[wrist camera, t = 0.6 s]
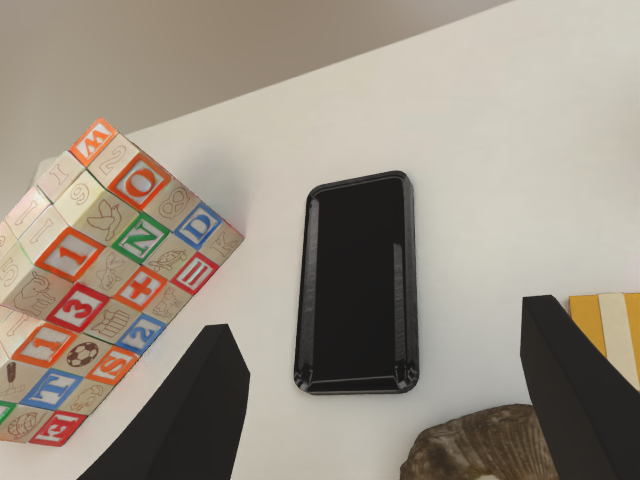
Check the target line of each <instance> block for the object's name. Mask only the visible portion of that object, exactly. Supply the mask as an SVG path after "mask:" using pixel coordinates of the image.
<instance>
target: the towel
mask: <svg viewBox="0 0 640 480" xmlns="http://www.w3.org/2000/svg"><path fill="white" fill-rule="evenodd" d="M569 304H570V312H571V319H572V320H573V321H574V322H575V323H576V325H577V326H578V327H579V328H580V329H581V331H582V332H583V333H584V334H585V335H586V336H587V338H588V339H589V340H590V341H591V342H592V343H593V344H594V346H595V347H596V348H597V349H598V350H599V351H600V352H601V353H602V354H603V355H604V356H605V358H606V359H607V360H608V361H609V362H610V363H611V364H612V365H613V366H614V367H615V368H616V369H617V370H618V371H619V372H620V373H621V375H622V376H623V377H624V378H625V379H626V380H627V381H628V382H629V383H630V384H631V385H632V386H633V387H634V388H635V389H636V390H637V391H638V392H640V293H630V294H624V293H609V294H598V295H586V296H570V297H569Z"/></svg>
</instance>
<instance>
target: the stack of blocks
mask: <svg viewBox="0 0 640 480" xmlns="http://www.w3.org/2000/svg"><path fill="white" fill-rule="evenodd" d="M36 184H37V185H35V186H33V187H32V188H31V189H30V190H29V191H28V192H27V194H26V195H25V196H24V197H23V198H22V199H21V200H20V201H19V202H18V204H17V205H16V206H15V207H14V208H13V209H12V210H11V212H10V213H9V214H8V215H7V216H6V218H5V221H2V222H1V223H0V440H2V441H10V442H18V443H27V442H28V443H33V444H40V445H47V446H56V447H61V446H62V445H63V444H64V443H65V441H66V440H67V439H68V438H69V437H70V435H71V434H72V433H73V432H74V431H75V430H76V428H77V427H78V426H79V425H80V424H81V423H82V421H83V420H84V419H85V418H86V416H87V415H90V414H91V413H92V412H93V410H94V409H95V408H96V407H97V406H98V405H99V404H100V402H101V401H102V400H103V399H104V398H105V397H106V396H107V394H108V393H109V392H110V391H111V390H112V388H113V387H114V385H115V384H117V383H118V382H119V381H120V380H121V378H122V377H123V376H124V375H125V374H126V373H127V372H128V370H129V369H130V368H131V367H132V366H133V365H134V364H135V362H136V361H137V360H138V359H139V358H140V356H141V354H142V353H143V352H144V351H145V350H146V349H147V348H148V347H149V346H150V344H151V343H152V342H153V341H154V340H155V339H156V337H157V336H158V335H159V334H160V333H161V332H162V331H163V330H164V328H165V327H166V326H167V324H168V323H169V322H170V321H171V320H172V319H173V318H174V317H175V316H176V314H177V313H178V312H179V311H180V310H181V309H182V308H183V306H184V305H185V304H186V303H187V302H188V301H189V300H190V299H191V297H192V296H193V295H195V294H196V293H197V292H198V290H199V289H200V288H201V287H202V286H203V285H204V284H205V283H206V282H207V280H208V279H209V278H210V277H211V276H212V275H213V274H214V273H215V271H216V270H217V269H218V268H219V266H220V265H221V264H223V263H224V262H225V260H226V259H227V258H228V257H229V256H230V255H231V254H232V252H233V251H234V250H235V249H236V248H237V247H238V246H239V244H240V243H241V242H242V241H243V239H244V237H243V236H242V235H241V234H240V233H239V232H238V231H236V230H235V229H234V228H233V227H232V226H231V225H230V224H228V223H227V222H226V221H225V220H224V219H222V218H221V217H220V216H219V215H218V214H217V213H215V212H214V211H213V210H212V209H211V208H209V207H208V206H207V205H206V204H205V203H204V202H203V201H201V200H200V199H199V198H198V197H197V196H196V195H195V194H194V193H193V192H191V191H190V190H189V189H188V188H187V187H185V186H184V185H183V184H182V183H181V182H179V181H178V180H177V179H176V178H175V177H174V176H172V175H171V174H170V173H169V172H168V171H167V170H166V169H164V168H163V167H162V166H161V165H160V164H159V163H157V162H156V161H155V160H154V159H153V158H151V157H150V156H149V155H148V154H146V153H145V152H144V151H143V150H141V149H140V148H139V147H138V146H137V145H135V144H134V143H133V142H131V141H130V140H128V139H127V138H126V137H125V136H124V135H122V134H121V133H120V132H119V131H118V130H116V129H115V128H114V127H113V126H111V125H110V124H109V123H108V122H107V121H105V120H104V119H103V118H101V117H99V118H98V119H97V120H96V121H95V122H94V123H93V124H92V125H91V127H89V129H88V130H87V131H86V132H85V133H84V134H83V135H82V136H81V137H80V138H79V139H78V140H77V141H76V143H75V144H74V145H73V146H72V147H71V148H70V150H69V151H68V150H65V151H64V152H63V153H62V154H61V155H60V156H59V157H58V158H57V159H56V160H55V161H54V162H53V164H52V165H51V166H50V167H49V168H48V169H47V170H46V171H45V172H44V173H43V174H42V176H41V177H40V178H39V179H38V180H37V181H36Z"/></svg>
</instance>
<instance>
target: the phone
mask: <svg viewBox="0 0 640 480" xmlns="http://www.w3.org/2000/svg"><path fill="white" fill-rule="evenodd" d="M418 379H419V349H418V318H417V288H416V258H415V228H414V197H413V186H412V184H411V182H410V180H409V178H408V177H407V175H406V174H405V173H403V172H402V171H389V172H384V173H379V174H374V175H369V176H364V177H358V178H353V179H348V180H343V181H338V182H333V183H328V184H323V185H319V186H317V187H315V188H314V189H313V190H312V191H311V192H310V193H309V195H308V197H307V203H306V216H305V229H304V242H303V256H302V269H301V282H300V295H299V309H298V322H297V335H296V348H295V362H294V381H295V383H296V385H297V386H298V388H299V389H301V390H303V391H304V392H307V393H309V394H312V395H350V394H400V393H406V392H408V391H410V390H411V389H412V388H413V387H414V386H415V385H416V383H417V381H418Z"/></svg>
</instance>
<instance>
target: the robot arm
mask: <svg viewBox="0 0 640 480" xmlns="http://www.w3.org/2000/svg"><path fill="white" fill-rule="evenodd" d="M520 357H521V362H522V366H523V370H524V375H525V379H526V383H527V387H528V391H529V396H530V399H531V402H532V404H533V407H534V410H535V413H536V416H537V419H538V421H539V424H540V427H541V430H542V433H543V435H544V438H545V441H546V444H547V446H548V449H549V452H550V455H551V458H552V460H553V463H554V466H555V469H556V471H557V474H558V477H559V480H640V392H638V391H637V390H636V389H635V388H634V387H633V386H632V385H631V384H630V383H629V382H628V381H627V380H626V379H625V378H624V377H623V376H622V375H621V373H620V372H619V371H618V370H617V369H616V368H615V367H614V366H613V365H612V364H611V363H610V362H609V361H608V360H607V359H606V358H605V356H604V355H603V354H602V353H601V352H600V351H599V350H598V349H597V348H596V347H595V346H594V344H593V343H592V342H591V341H590V340H589V339H588V338H587V336H586V335H585V334H584V333H583V332H582V331H581V329H580V328H579V327H578V326H577V325H576V323H575V322H574V321H573V320H572V319H571V317H570V316H569V315H568V314H567V312H566V311H565V310H564V308H563V307H562V306H561V305H560V303H559V302H558V301H557V299H556V298H555V297H553V296H552V295H542V296H531V297H523V302H522V324H521V346H520ZM249 382H250V372H249V370H248V368H247V366H246V363H245V361H244V359H243V357H242V355H241V352H240V350H239V348H238V346H237V344H236V341H235V339H234V337H233V335H232V332H231V330H230V328H229V326H228V324H218V325H207V326H205V327H204V328H203V329H202V331H201V332H200V333H199V335H198V336H197V337H196V339H195V340H194V341H193V343H192V344H191V345H190V347H189V348H188V349H187V351H186V352H185V354H184V355H183V356H182V358H181V359H180V360H179V362H178V363H177V364H176V366H175V367H174V368H173V370H172V371H171V373H170V374H169V375H168V376H167V378H166V379H165V380H164V382H163V383H162V384H161V386H160V387H159V388H158V389H157V391H156V392H155V393H154V395H153V396H152V397H151V399H150V400H149V401H148V402H147V404H146V405H145V406H144V407H143V408H142V410H141V411H140V412H139V413H138V414H137V416H136V417H135V418H134V419H133V420H132V422H131V423H130V424H129V425H128V426H127V428H126V429H125V430H124V431H123V432H122V433H121V434H120V435H119V437H118V438H117V439H116V440H115V441H114V442H113V443H112V444H111V445H110V447H109V448H108V449H107V450H106V451H105V452H104V453H103V454H102V455H101V456H100V457H99V458H98V459H97V460H96V461H95V462H94V463H93V464H92V465H91V466H90V467H89V468H88V469H87V470H86V471H85V472H84V473H83V474H82V475H81V476H80V477H79V478H78V479H76V480H230V478H231V474H232V470H233V466H234V462H235V458H236V453H237V449H238V445H239V441H240V437H241V432H242V428H243V424H244V420H245V415H246V409H247V401H248V393H249Z"/></svg>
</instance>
